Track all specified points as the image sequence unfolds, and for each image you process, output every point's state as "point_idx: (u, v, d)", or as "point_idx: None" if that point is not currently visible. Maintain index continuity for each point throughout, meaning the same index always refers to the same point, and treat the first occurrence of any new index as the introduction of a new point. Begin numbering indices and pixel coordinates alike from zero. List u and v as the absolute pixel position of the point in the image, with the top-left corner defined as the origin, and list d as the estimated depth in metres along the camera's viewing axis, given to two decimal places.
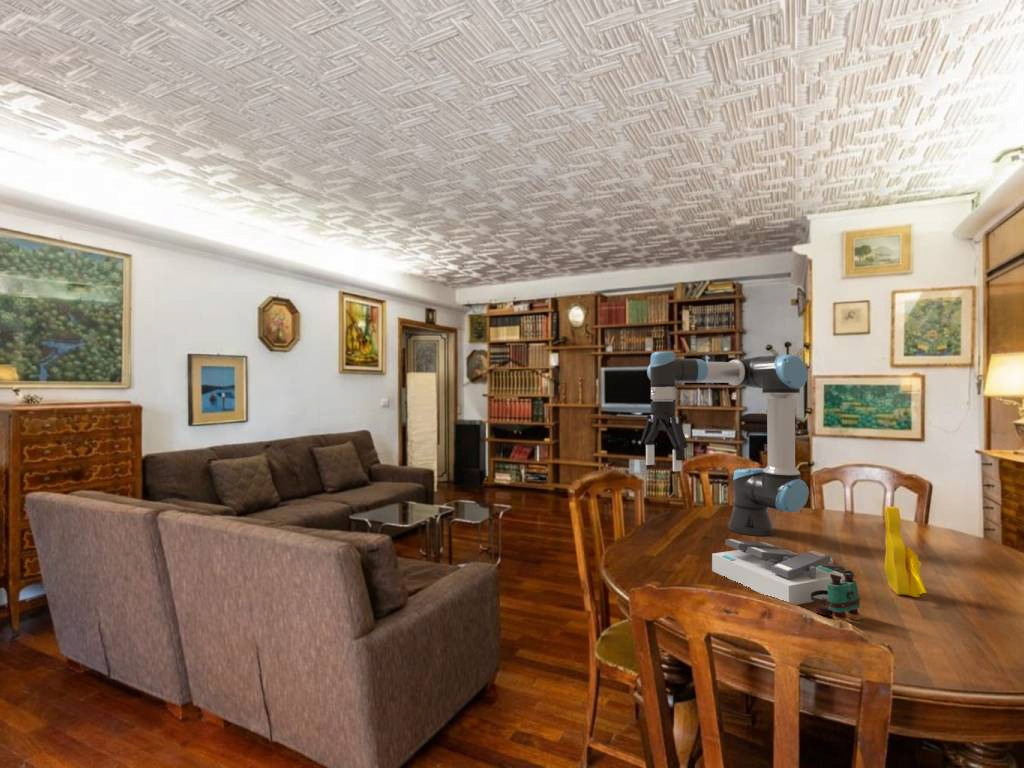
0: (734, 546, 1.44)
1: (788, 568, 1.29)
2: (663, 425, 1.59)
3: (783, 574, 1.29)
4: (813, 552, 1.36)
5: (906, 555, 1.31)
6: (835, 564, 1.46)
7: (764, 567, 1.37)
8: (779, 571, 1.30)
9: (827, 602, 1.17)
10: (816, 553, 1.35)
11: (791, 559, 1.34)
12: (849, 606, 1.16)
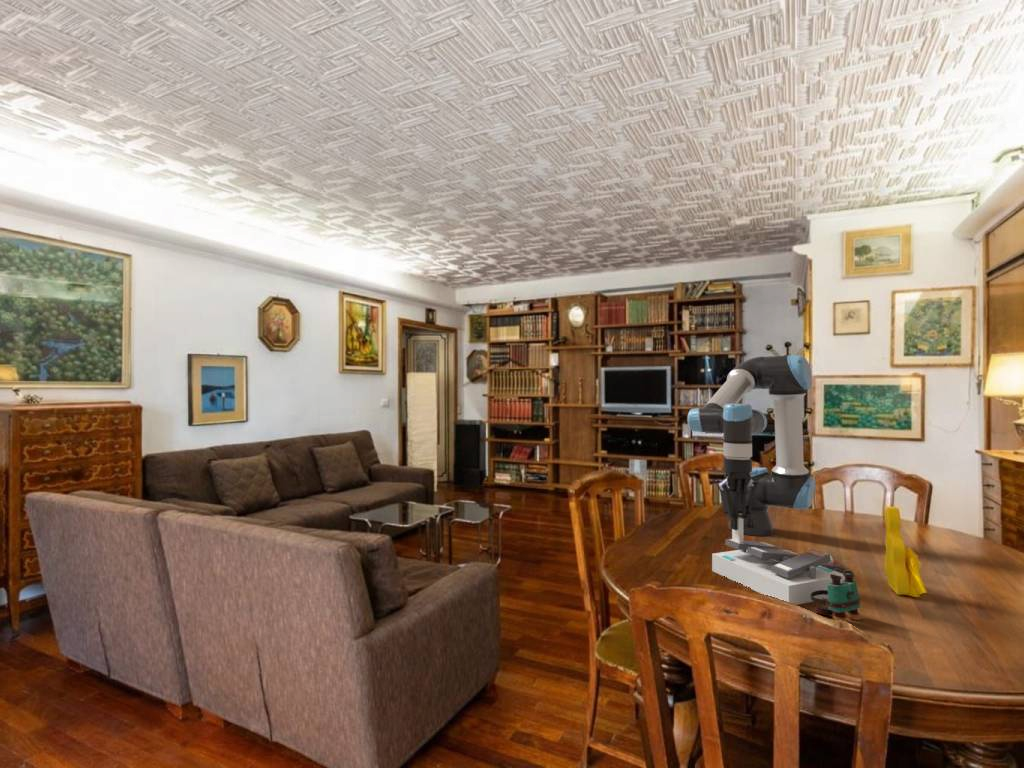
0: (734, 546, 1.44)
1: (788, 568, 1.29)
2: None
3: (783, 574, 1.29)
4: (813, 552, 1.36)
5: (906, 555, 1.31)
6: (835, 564, 1.46)
7: (764, 567, 1.37)
8: (779, 571, 1.30)
9: (827, 602, 1.17)
10: (816, 553, 1.35)
11: (791, 559, 1.34)
12: (849, 606, 1.16)
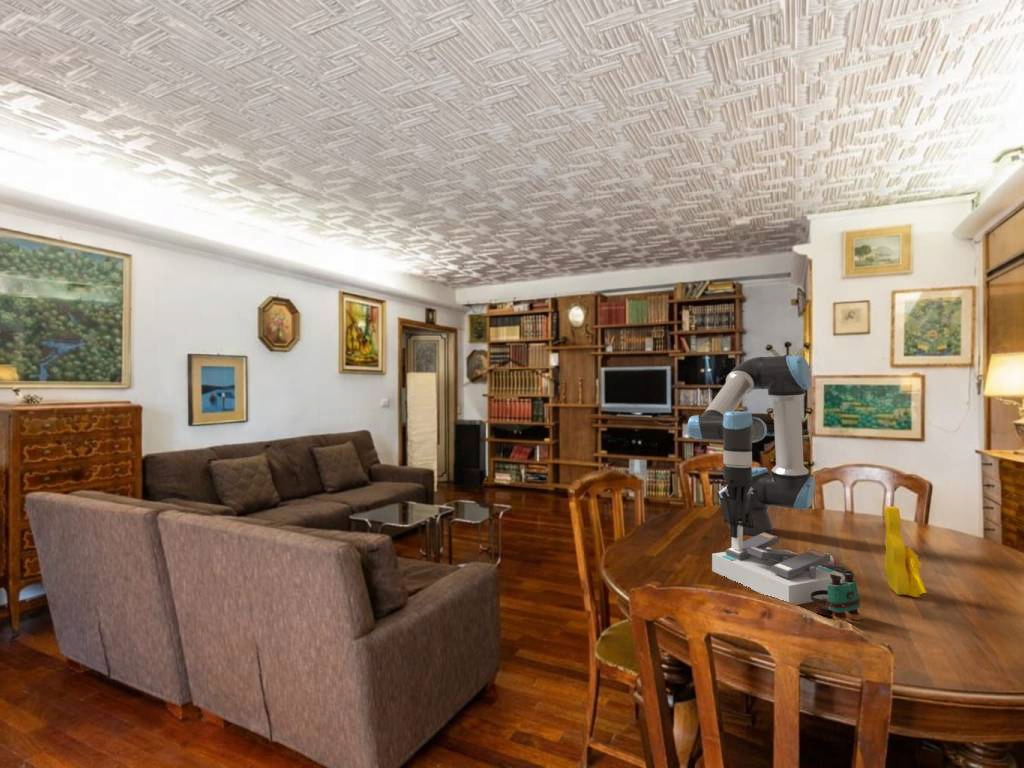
0: (735, 557, 1.44)
1: (788, 568, 1.29)
2: None
3: (783, 574, 1.29)
4: (813, 552, 1.36)
5: (906, 555, 1.31)
6: (836, 564, 1.46)
7: (764, 567, 1.37)
8: (779, 571, 1.30)
9: (827, 602, 1.17)
10: (816, 553, 1.35)
11: (791, 559, 1.34)
12: (849, 606, 1.16)
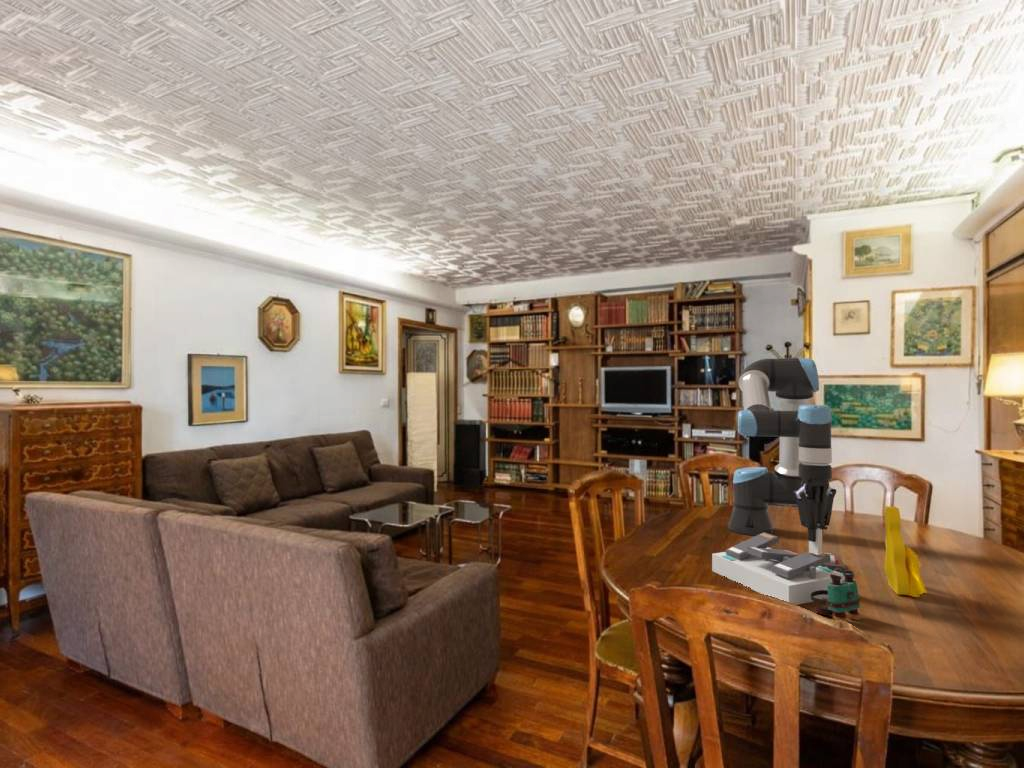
0: (735, 557, 1.44)
1: (788, 568, 1.29)
2: None
3: (783, 574, 1.29)
4: None
5: (906, 555, 1.31)
6: (837, 564, 1.46)
7: (764, 567, 1.37)
8: (779, 571, 1.30)
9: (827, 602, 1.17)
10: None
11: (791, 559, 1.34)
12: (849, 606, 1.16)
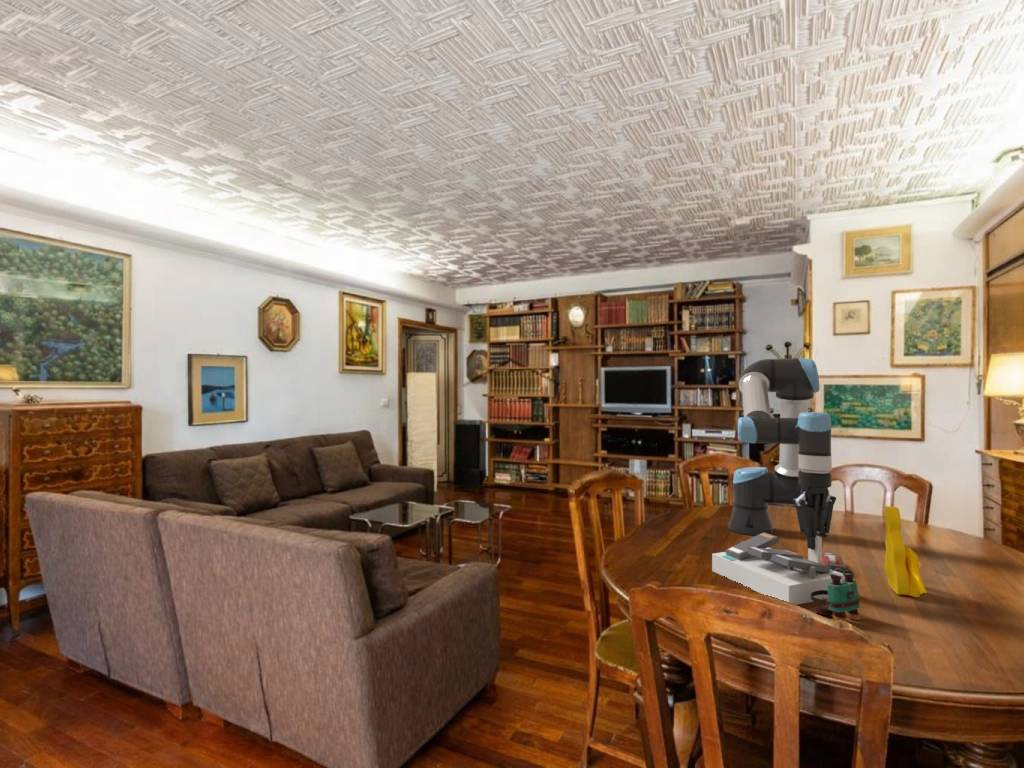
0: (735, 557, 1.44)
1: (789, 558, 1.30)
2: None
3: (783, 562, 1.29)
4: None
5: (906, 555, 1.31)
6: (838, 564, 1.46)
7: (764, 567, 1.37)
8: (779, 559, 1.30)
9: (827, 602, 1.17)
10: None
11: (792, 557, 1.34)
12: (849, 606, 1.16)
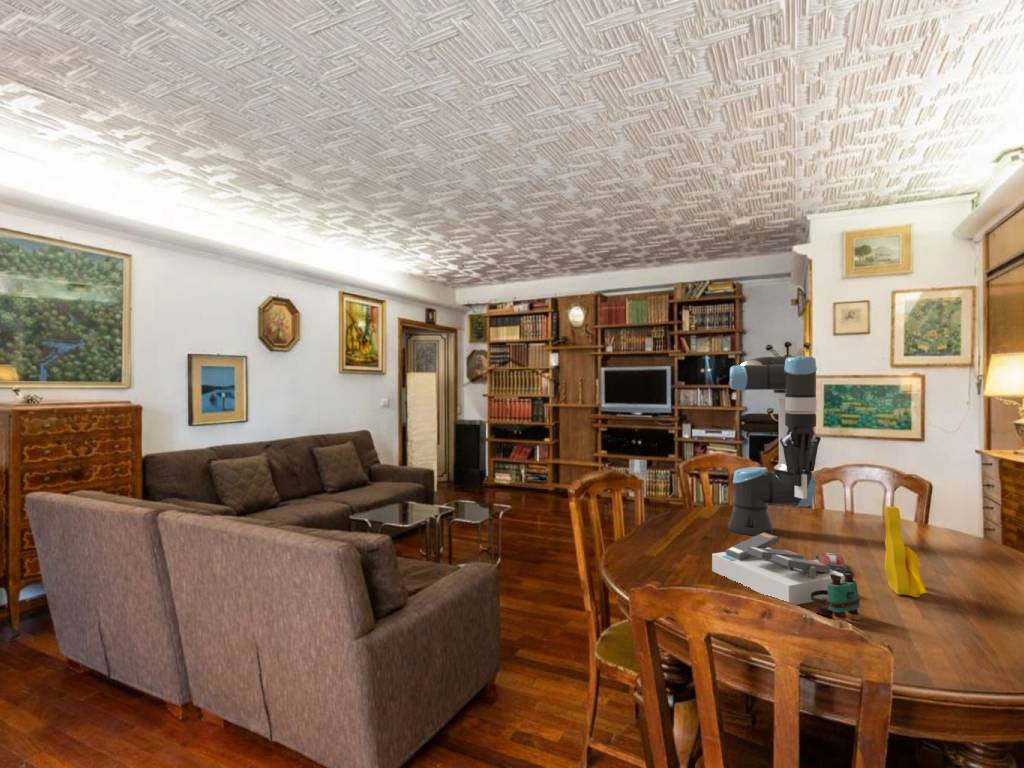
0: (735, 557, 1.44)
1: (789, 558, 1.30)
2: None
3: (783, 562, 1.29)
4: (814, 561, 1.36)
5: (906, 555, 1.31)
6: (838, 564, 1.46)
7: (764, 567, 1.37)
8: (779, 559, 1.30)
9: (827, 602, 1.17)
10: (817, 562, 1.35)
11: (792, 557, 1.34)
12: (849, 606, 1.16)
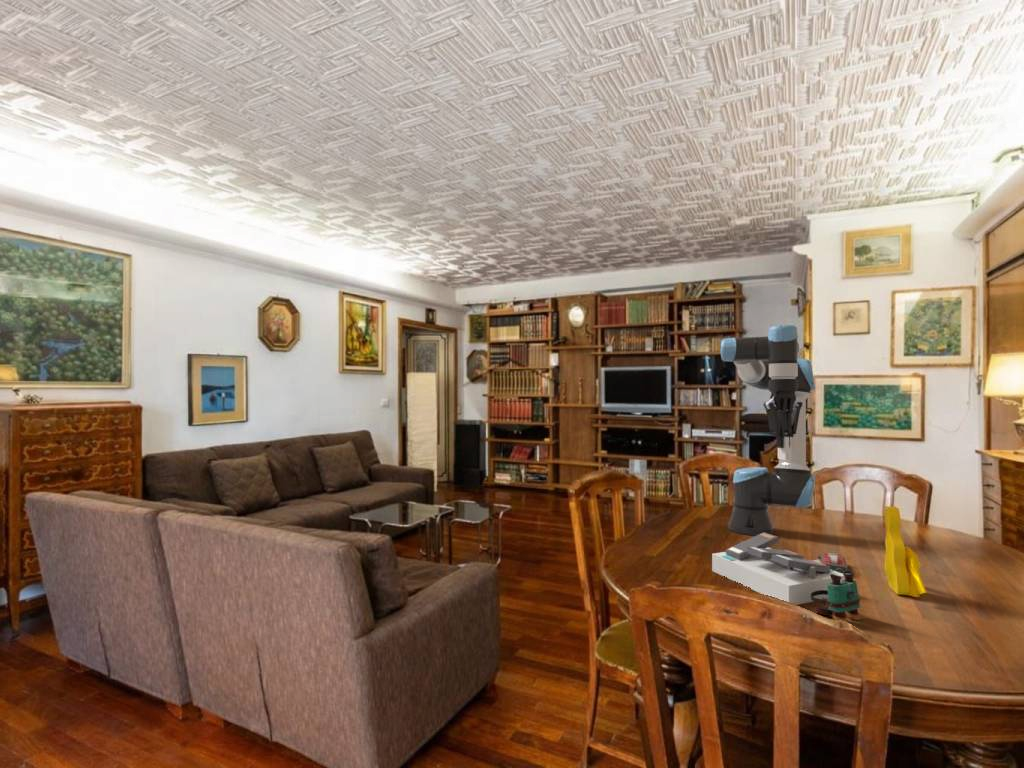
0: (735, 557, 1.44)
1: (789, 558, 1.30)
2: None
3: (783, 562, 1.29)
4: (814, 561, 1.36)
5: (906, 555, 1.31)
6: (839, 564, 1.46)
7: (764, 567, 1.37)
8: (779, 559, 1.30)
9: (827, 602, 1.17)
10: (817, 562, 1.35)
11: (792, 557, 1.34)
12: (849, 606, 1.16)
